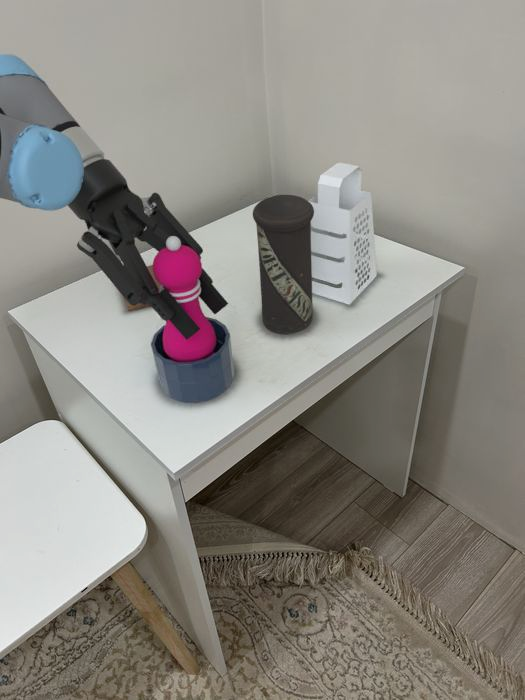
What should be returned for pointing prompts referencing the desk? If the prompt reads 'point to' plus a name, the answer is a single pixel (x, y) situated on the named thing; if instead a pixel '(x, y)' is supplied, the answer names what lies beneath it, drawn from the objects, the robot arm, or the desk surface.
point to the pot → (196, 369)
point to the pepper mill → (183, 301)
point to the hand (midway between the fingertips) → (207, 321)
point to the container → (285, 262)
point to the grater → (342, 234)
